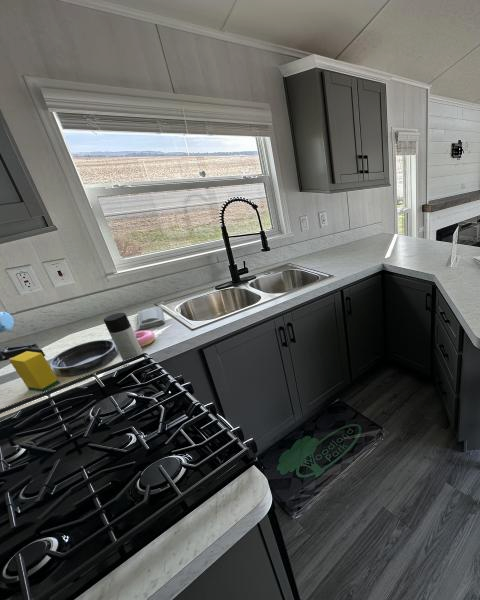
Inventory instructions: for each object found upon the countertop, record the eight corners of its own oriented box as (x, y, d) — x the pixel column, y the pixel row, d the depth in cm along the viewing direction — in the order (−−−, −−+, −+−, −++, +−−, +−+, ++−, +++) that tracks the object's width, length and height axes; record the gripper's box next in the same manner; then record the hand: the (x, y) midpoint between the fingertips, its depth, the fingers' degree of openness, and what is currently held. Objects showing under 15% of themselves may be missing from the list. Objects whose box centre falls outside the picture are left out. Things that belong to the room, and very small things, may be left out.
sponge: (28, 389, 114) (8, 359, 109) (45, 380, 119) (26, 351, 113) (43, 392, 113) (23, 361, 107) (60, 383, 117) (41, 352, 112)
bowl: (48, 383, 117) (42, 374, 116) (62, 357, 132) (57, 349, 130) (115, 365, 126) (111, 356, 125) (121, 342, 141) (117, 334, 139)
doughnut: (118, 350, 136) (114, 342, 134) (138, 336, 146) (135, 328, 144) (143, 350, 135) (140, 341, 133) (162, 336, 145) (159, 328, 143)
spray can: (149, 356, 131) (130, 312, 122) (134, 367, 125) (113, 321, 116) (135, 355, 132) (115, 311, 123) (120, 365, 126) (97, 320, 117)
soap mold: (162, 308, 170) (160, 302, 169) (165, 323, 156) (162, 316, 154) (138, 314, 165) (135, 308, 164) (138, 330, 150) (135, 323, 149)
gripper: (24, 347, 129) (64, 352, 125) (-69, 389, 108) (-24, 397, 103) (14, 331, 126) (55, 336, 122) (-84, 370, 104) (-39, 378, 100)
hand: (19, 364), depth 112 cm, fingers open, 13 cm apart
